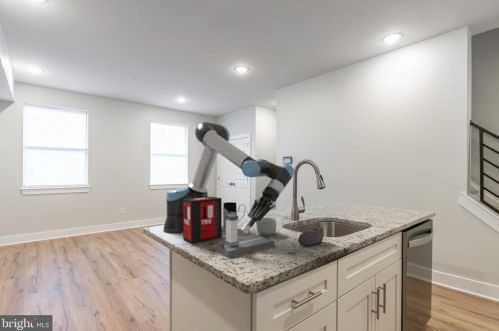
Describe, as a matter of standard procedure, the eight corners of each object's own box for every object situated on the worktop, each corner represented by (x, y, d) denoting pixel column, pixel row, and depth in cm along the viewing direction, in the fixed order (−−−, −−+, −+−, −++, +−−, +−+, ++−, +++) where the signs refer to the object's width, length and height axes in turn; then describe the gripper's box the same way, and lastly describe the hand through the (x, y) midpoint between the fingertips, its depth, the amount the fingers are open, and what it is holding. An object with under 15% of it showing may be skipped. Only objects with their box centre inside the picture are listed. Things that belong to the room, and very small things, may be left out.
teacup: (273, 237, 123) (273, 221, 123) (253, 236, 127) (253, 220, 127) (279, 231, 136) (279, 216, 137) (260, 229, 140) (260, 215, 140)
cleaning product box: (212, 234, 131) (212, 196, 131) (221, 237, 124) (221, 198, 124) (183, 240, 120) (183, 199, 121) (191, 244, 113) (191, 201, 114)
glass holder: (220, 228, 143) (220, 202, 143) (242, 225, 150) (242, 201, 150) (225, 231, 135) (225, 204, 135) (248, 228, 142) (248, 202, 142)
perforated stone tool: (302, 249, 106) (302, 233, 106) (294, 245, 110) (294, 230, 110) (327, 243, 113) (327, 228, 113) (318, 240, 118) (318, 226, 118)
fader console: (213, 249, 106) (213, 239, 106) (258, 239, 120) (258, 230, 120) (227, 257, 96) (227, 246, 96) (274, 246, 110) (274, 236, 110)
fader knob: (224, 243, 105) (224, 215, 105) (232, 242, 107) (232, 214, 107) (230, 246, 101) (230, 216, 101) (238, 244, 103) (238, 215, 103)
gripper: (286, 197, 113) (257, 240, 103) (268, 195, 124) (241, 233, 114) (277, 186, 110) (247, 229, 100) (260, 184, 121) (231, 223, 111)
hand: (243, 231), depth 107 cm, fingers closed
